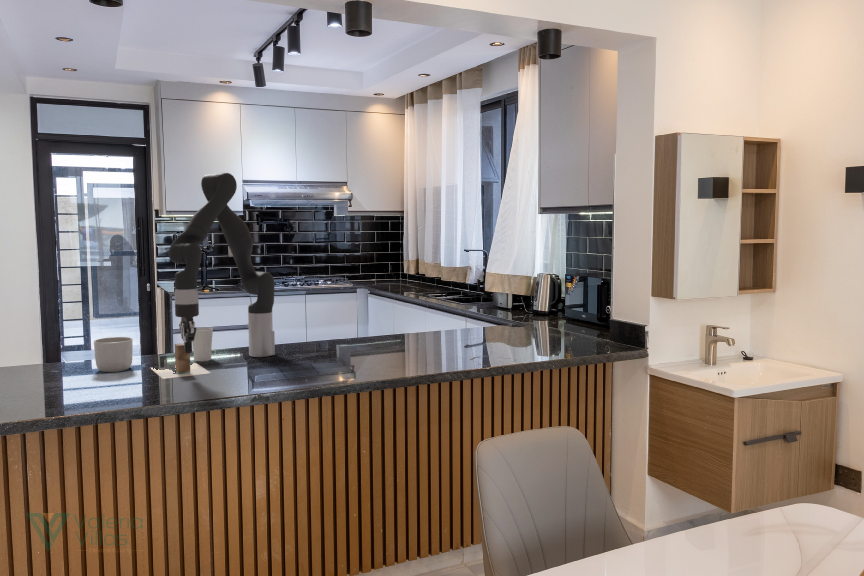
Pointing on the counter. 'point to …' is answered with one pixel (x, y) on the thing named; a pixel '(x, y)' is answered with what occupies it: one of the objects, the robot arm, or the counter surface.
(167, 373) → the cream flat rectangular panel
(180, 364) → the walnut block
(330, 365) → the counter surface
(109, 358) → the planter
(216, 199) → the robot arm
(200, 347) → the cup
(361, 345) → the counter surface
